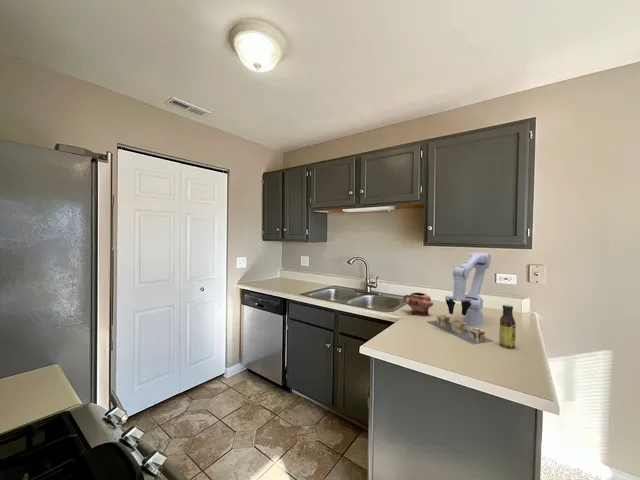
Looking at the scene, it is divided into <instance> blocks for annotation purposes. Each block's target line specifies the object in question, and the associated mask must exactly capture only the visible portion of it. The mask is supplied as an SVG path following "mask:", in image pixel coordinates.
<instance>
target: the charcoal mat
mask: <svg viewBox="0 0 640 480" xmlns="http://www.w3.org/2000/svg"><path fill="white" fill-rule="evenodd" d="M426 323H427V324H430V325H431V326H434V327H436V328H438V329H440V330H442V331H444V332H446V333H448V334H451V335H453V336H455V337H457V338H458V339H461V340H464V341H465V342H466V343H469V344H471V345H478V344H480V345H481V344H486V343H492V342H494V340H492V339H490V338H487V337H485V341H482V342H476V341H473V340H471V339H469V329H467V328H466V333H460V334H458V333H456V332H454V331H452V322H450V326H441V325H439V324H437V320H430V321H426Z"/></svg>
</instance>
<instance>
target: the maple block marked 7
mask: <svg viewBox="0 0 640 480" xmlns="http://www.w3.org/2000/svg"><path fill="white" fill-rule="evenodd" d="M468 330H469V339H471V340H473V341H476V342H482V341H485V338H486V330H484V329H481V328H480V327H474V328H471V327H469V328H468Z"/></svg>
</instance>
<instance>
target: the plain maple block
mask: <svg viewBox="0 0 640 480" xmlns="http://www.w3.org/2000/svg"><path fill="white" fill-rule="evenodd" d="M451 323H452V331H454V332H456V333H458V334H460V333H466V329H467V326H466V323H465V321H464V322H463V321H462V320H453V321H451Z"/></svg>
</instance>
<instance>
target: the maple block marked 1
mask: <svg viewBox="0 0 640 480" xmlns="http://www.w3.org/2000/svg"><path fill="white" fill-rule="evenodd" d="M436 321H437V324H439V325H441V326H450V323H451V316H449V315H447V314H445V313H444V314H443V313H442V314H437V315H436Z"/></svg>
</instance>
